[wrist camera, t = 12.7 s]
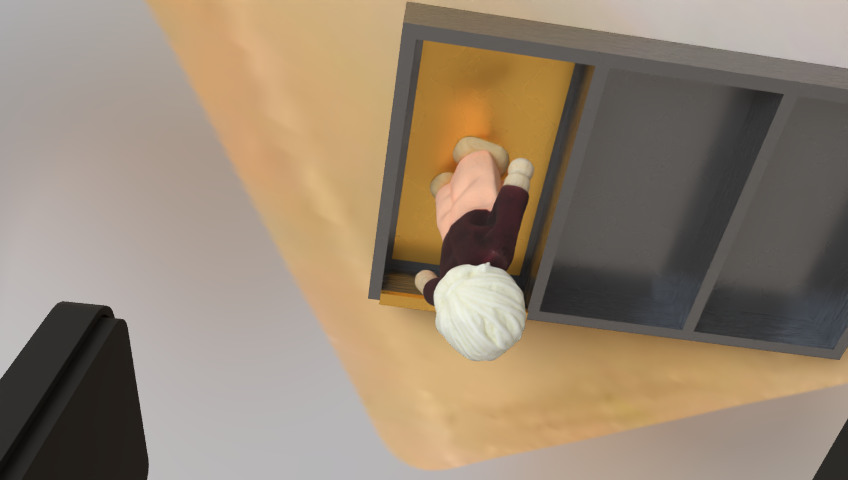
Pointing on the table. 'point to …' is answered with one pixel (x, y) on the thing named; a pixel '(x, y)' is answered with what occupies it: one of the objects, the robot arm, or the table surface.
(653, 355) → the table surface
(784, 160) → the tray
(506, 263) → the grandmother figurine
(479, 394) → the table surface
